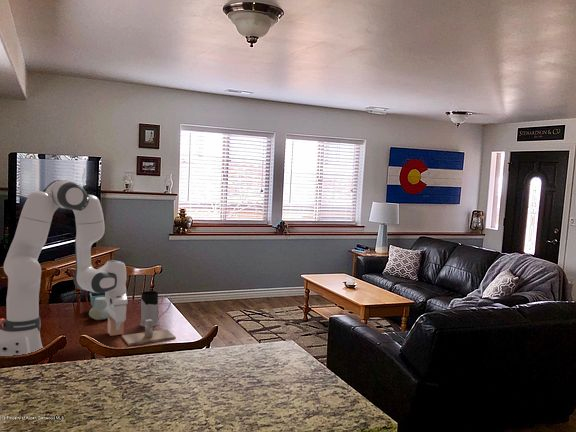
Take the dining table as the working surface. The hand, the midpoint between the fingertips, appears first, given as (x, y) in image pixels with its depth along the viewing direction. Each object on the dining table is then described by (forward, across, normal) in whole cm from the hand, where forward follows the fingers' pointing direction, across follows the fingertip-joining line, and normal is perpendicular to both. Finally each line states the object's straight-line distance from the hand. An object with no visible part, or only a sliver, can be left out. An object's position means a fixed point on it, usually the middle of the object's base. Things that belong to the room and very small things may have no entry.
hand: (115, 327), depth 224 cm
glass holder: (+3, -8, +20) cm, 22 cm away
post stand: (+3, +12, +11) cm, 17 cm away
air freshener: (+3, -28, -1) cm, 28 cm away
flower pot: (+3, -42, +1) cm, 42 cm away
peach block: (+2, 0, 0) cm, 2 cm away
